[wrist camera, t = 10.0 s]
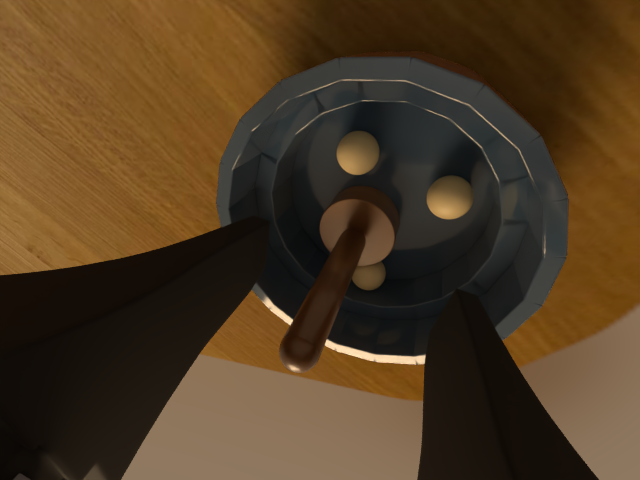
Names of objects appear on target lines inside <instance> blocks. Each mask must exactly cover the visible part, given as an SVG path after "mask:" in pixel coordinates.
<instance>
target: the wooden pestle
mask: <svg viewBox="0 0 640 480" xmlns="http://www.w3.org/2000/svg"><path fill="white" fill-rule="evenodd" d="M398 228H399V213H398V210H397V208H396V206H395V204H394V203H393V201H392V200H391V199H390V198H389V197H388V196H387V195H386V194H384V193H383V192H382V191H380V190H378V189H375V188H373V187H369V186H353V187H349V188H347V189H344V190H343V191H341V192H340V193H339V194H337V196H336V197H335V198H334V199H333V201H332V202H331V203H330V205H329V206H328V207H327V209H326V210H325V212H324V213H323V215H322V217H321V220H320V235H321V239H322V241H323V243H324V245H325V247H326V248H327V249H328V250H329V252H330V255H329V257H328V259H327V260H326V262H325V264H324V266H323V268H322V269H321V271H320V273H319V275H318V277H317V278H316V280H315V282H314V284H313V286H312V287H311V289H310V291H309V293H308V295H307V296H306V298H305V300H304V302H303V303H302V305H301V307H300V309H299V311H298V312H297V314H296V316H295V318H294V320H293V321H292V323H291V325H290V327H289V329H288V330H287V332H286V334H285V336H284V338H283V339H282V342H281V344H280V348H279V355H280V359H281V362H282V363H283V365H284V366H285V367H286V368H287V369H289V370H290V371H292V372H296V373H303V372H306V371H309V370H310V369H312V368H313V367H314V366H315V365H316V363H317V362H318V360H319V357H320V355H321V352H322V350H323V348H324V345H325V343H326V340H327V338H328V335H329V333H330V330H331V328H332V326H333V323H334V321H335V318H336V316H337V313H338V311H339V308H340V306H341V304H342V301H343V299H344V296H345V294H346V291H347V289H348V286H349V284H350V281H351V279H352V277H353V274H354V272H355V269H356V267H357V266H367V265H372V264H376V263H378V262H380V261H382V260H383V259H384V258H386V257H387V256H388V255H389V253H390V252H391V251H392V248H393V246H394V243H395V239H396V235H397V232H398Z"/></svg>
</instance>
